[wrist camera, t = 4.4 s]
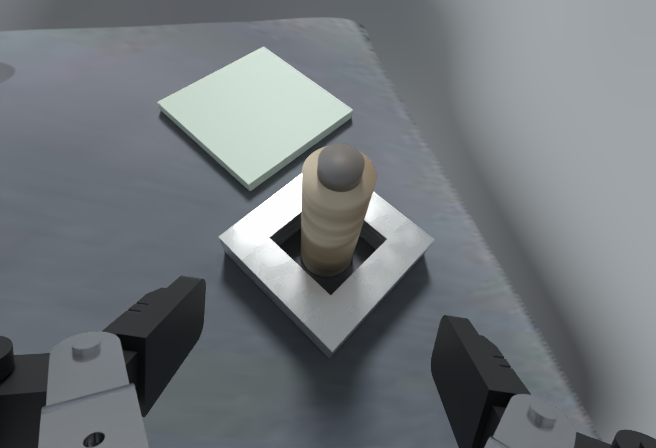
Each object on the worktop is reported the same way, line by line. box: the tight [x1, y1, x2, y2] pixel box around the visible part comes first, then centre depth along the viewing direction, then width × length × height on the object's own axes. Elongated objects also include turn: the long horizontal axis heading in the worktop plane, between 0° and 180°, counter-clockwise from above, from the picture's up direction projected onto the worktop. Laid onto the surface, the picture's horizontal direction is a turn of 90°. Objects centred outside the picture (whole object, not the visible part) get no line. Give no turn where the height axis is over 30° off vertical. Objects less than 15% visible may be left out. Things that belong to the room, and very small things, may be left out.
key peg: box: [301, 144, 377, 277], centre depth 23 cm, size 4×4×11 cm
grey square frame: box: [219, 174, 434, 358], centre depth 26 cm, size 11×11×2 cm
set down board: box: [157, 47, 353, 191], centre depth 34 cm, size 13×13×1 cm
